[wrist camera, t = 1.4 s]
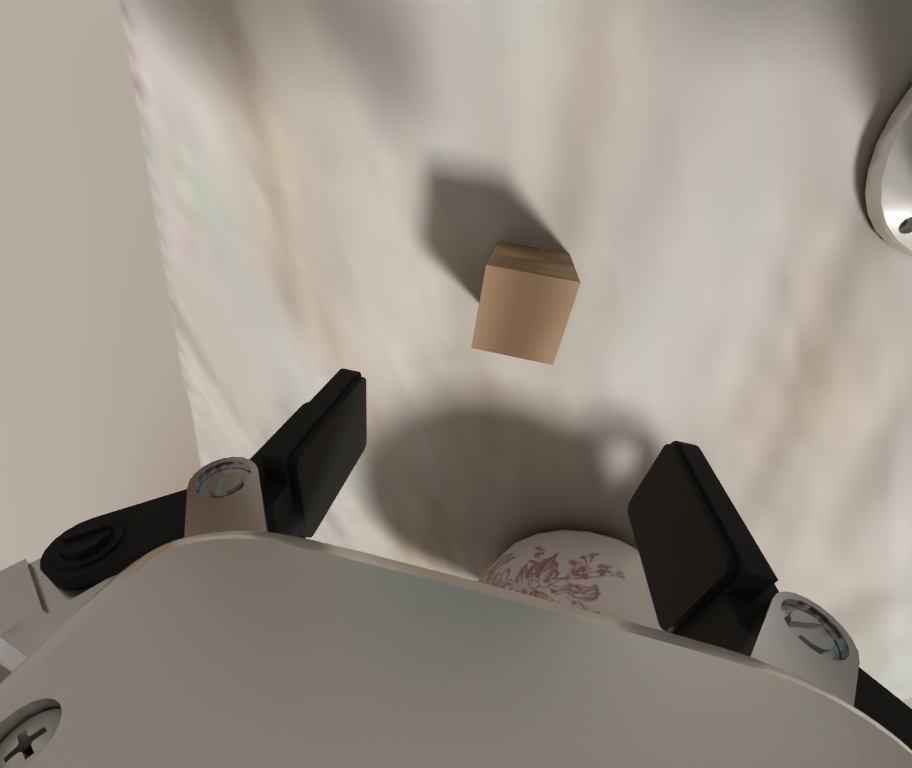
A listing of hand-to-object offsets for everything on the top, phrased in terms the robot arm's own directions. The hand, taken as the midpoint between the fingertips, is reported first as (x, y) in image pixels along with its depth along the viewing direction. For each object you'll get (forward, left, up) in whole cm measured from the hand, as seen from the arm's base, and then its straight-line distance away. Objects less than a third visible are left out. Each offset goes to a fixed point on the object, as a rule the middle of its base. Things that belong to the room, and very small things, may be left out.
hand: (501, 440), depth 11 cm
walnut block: (0, 0, -18) cm, 18 cm away
